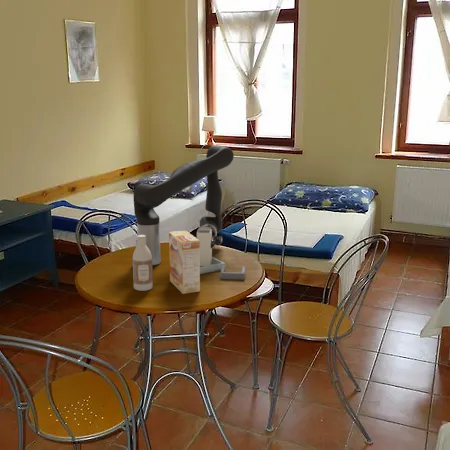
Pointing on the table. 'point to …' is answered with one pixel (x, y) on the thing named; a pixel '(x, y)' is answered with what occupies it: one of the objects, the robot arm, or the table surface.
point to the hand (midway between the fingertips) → (203, 245)
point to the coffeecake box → (184, 261)
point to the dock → (232, 274)
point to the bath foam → (142, 266)
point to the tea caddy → (205, 245)
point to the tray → (212, 266)
